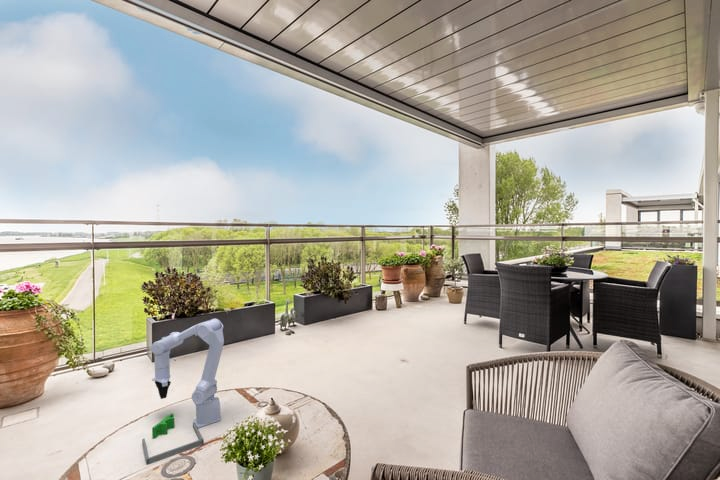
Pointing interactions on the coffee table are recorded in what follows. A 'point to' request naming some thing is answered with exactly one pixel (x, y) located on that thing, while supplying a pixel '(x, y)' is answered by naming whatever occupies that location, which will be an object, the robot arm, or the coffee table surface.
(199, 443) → the grey u-shaped frame
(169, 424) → the green stepped block
